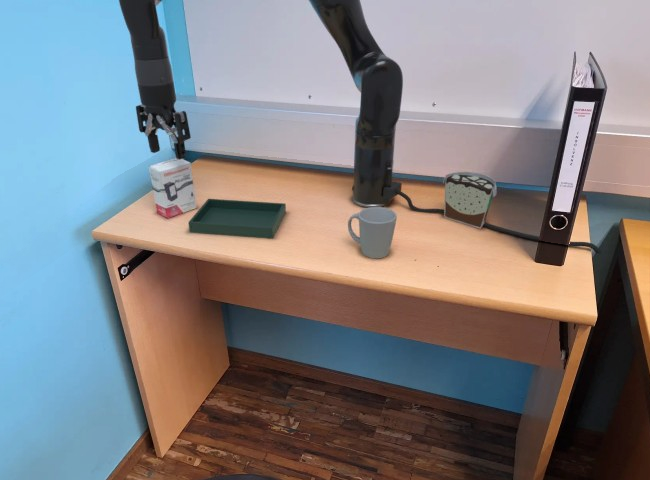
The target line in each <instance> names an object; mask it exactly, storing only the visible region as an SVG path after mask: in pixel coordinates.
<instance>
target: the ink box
mask: <svg viewBox="0 0 650 480" xmlns="http://www.w3.org/2000/svg"><path fill="white" fill-rule="evenodd" d="M148 171H149V176H150V181H151V187H152V192H153V193H152V194H153V198H154V202H155V208H156V212H157V214H158V215H160V216H162V217H164V218H165V219H170V218H173V217H175V216H178V215H181V214H185V213H186V212H190V211H193V210H195V209H197V208H198V207H197V200H196V194H195V186H194V185H195V184H194V178H193V172H192V163H191V162H190V161H189V160H185V158H183V159H180V160H179V159H177V158H176V157H174V158H171V159H167V160H164V161H161V162H157V163H154V164H151V165H150V166H148Z"/></svg>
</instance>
